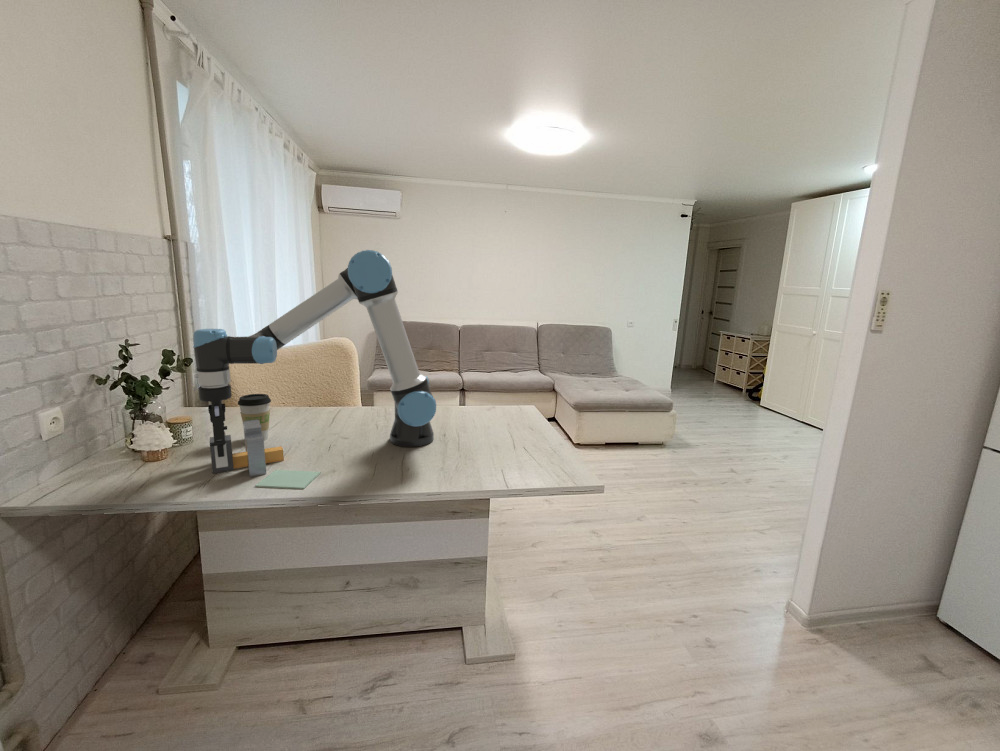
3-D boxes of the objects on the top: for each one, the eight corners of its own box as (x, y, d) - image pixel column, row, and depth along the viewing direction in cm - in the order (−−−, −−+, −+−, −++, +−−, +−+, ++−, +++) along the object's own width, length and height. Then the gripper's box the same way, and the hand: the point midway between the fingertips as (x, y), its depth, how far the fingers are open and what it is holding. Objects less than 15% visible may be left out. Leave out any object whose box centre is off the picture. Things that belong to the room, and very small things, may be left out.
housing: (260, 450, 137) (257, 414, 135) (266, 473, 121) (263, 433, 118) (245, 452, 135) (242, 416, 133) (249, 476, 119) (246, 435, 116)
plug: (282, 455, 134) (280, 428, 132) (284, 461, 129) (282, 433, 128) (212, 466, 124) (209, 437, 122) (212, 473, 120) (209, 442, 118)
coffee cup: (259, 445, 142) (255, 401, 139) (233, 442, 143) (229, 399, 140) (280, 435, 151) (277, 394, 148) (255, 433, 153) (252, 392, 150)
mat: (320, 473, 122) (320, 471, 122) (303, 489, 112) (303, 487, 112) (275, 471, 123) (275, 469, 123) (255, 486, 113) (255, 485, 113)
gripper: (199, 378, 126) (206, 448, 131) (196, 395, 107) (205, 477, 111) (229, 376, 130) (235, 444, 135) (232, 392, 111) (239, 471, 115)
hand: (221, 459), depth 123 cm, fingers open, 11 cm apart
